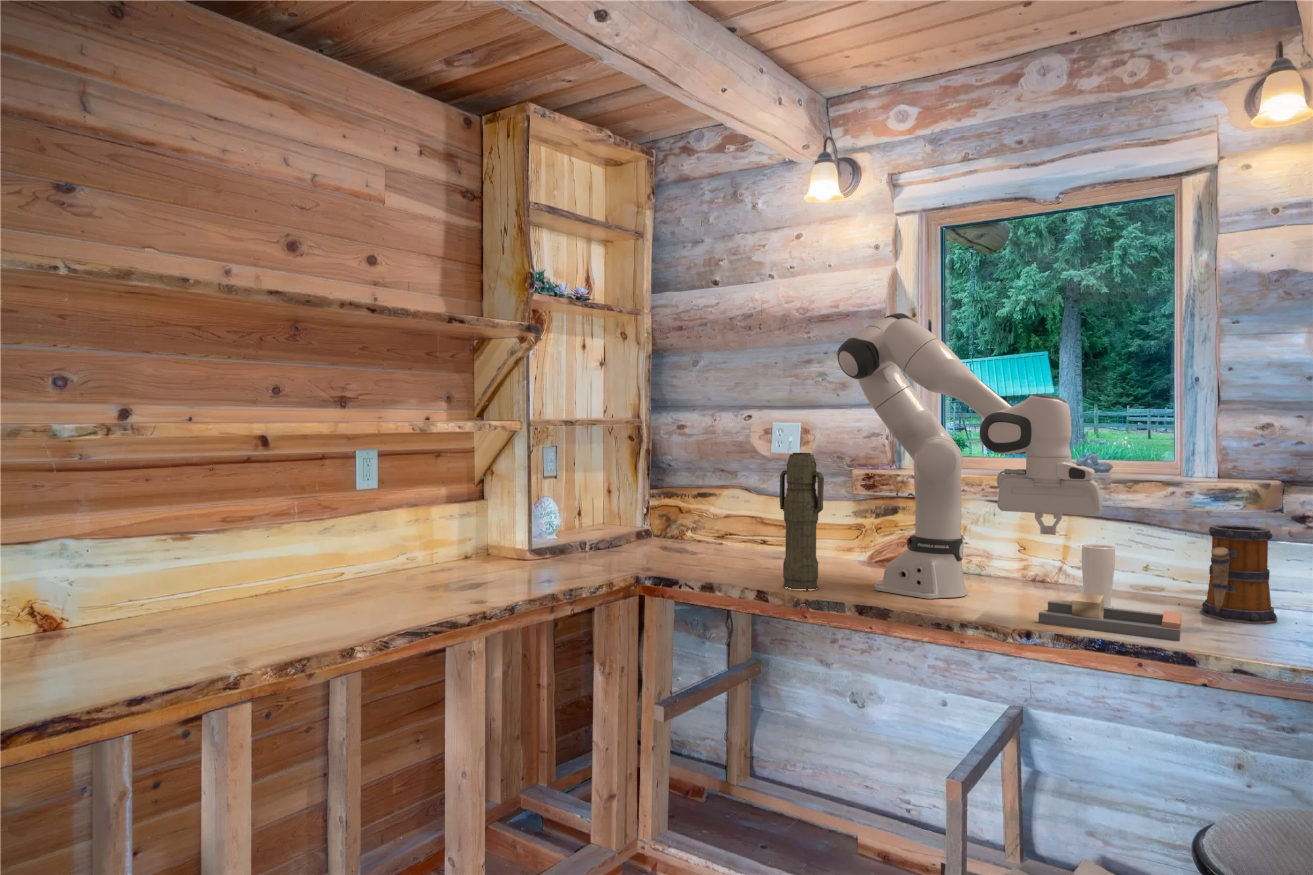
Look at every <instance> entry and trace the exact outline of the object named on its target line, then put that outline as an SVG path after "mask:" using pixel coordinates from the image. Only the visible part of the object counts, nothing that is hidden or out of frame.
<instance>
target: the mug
mask: <svg viewBox="0 0 1313 875" xmlns="http://www.w3.org/2000/svg"><path fill="white" fill-rule="evenodd" d="M1208 532H1209V535H1210V536H1211V550H1210V551H1211V552H1210V553H1211V557H1210V563H1211V564H1209V567H1208V568H1209V572H1208V573H1209V582H1208V588H1207V595H1206V596H1207V597H1206V599H1205V600H1204V601H1203V602H1202V604H1201V607H1202V608H1201V609H1200V611H1199V614H1201V615H1203V616H1205V617H1207V618H1211V619H1215V620H1218V621H1222V622H1228V623H1229V622H1230V623H1235V624H1237V623H1238V624H1245V625H1263V626H1264V625H1271V624H1273V625H1274V624H1277V623H1278V617H1277V614H1276V613H1275V608H1274V607H1272V602H1271V592H1270V582H1269V581H1270V569H1269V568H1268V563H1269V562H1268V554H1269V553H1268V551H1269V550H1268V549H1269V541H1270V540H1272V538H1273V534H1272V533H1271V529H1270V528H1267V527H1262V526H1255V525H1241V524H1211V526H1209V529H1208Z"/></svg>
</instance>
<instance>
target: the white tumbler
mask: <svg viewBox="0 0 1313 875" xmlns="http://www.w3.org/2000/svg"><path fill="white" fill-rule="evenodd" d="M1115 549H1116V547H1115V546H1113V545H1108V544H1099V543H1098V544H1097V543H1085V544H1082V546H1081V572H1082V587H1083V593H1085V594H1094V595H1104V607H1106V608H1112V607H1111V606H1112V595H1113V585H1114V579H1115V578H1114V577H1115V576H1114V575H1115V568H1116V566H1115V565H1116V550H1115Z"/></svg>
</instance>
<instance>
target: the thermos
mask: <svg viewBox="0 0 1313 875" xmlns="http://www.w3.org/2000/svg"><path fill="white" fill-rule="evenodd" d="M787 459H788V460H787V461H786V462H787V463H786V469H785V470H782V471H781V473H780V475H779V508H780V510H782V512H783V521H784V523H785V557H784V560H783V562H782V564H783V565H782V566H783V568H782V570H783V572H782V577H783V587H784V586H785V587H788V588H791V589H806V590H808V589H816V588H817V589H818V579H819V562H818V559H817V524H818V521H819V514H820V513H821V512H822V511H823V510H824V485H825V484H824V483H825V482H824V481H825V478H824V475H823V474H822V472H820V471H817V463H816V459H815V455H814V454H812V453H811V452H792V453H791V454H789V456H788V458H787ZM785 476H786V477H785ZM786 483H787V484H786ZM816 484H817V488H816ZM786 485H787V487H786ZM817 589H816V590H817Z"/></svg>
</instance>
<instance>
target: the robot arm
mask: <svg viewBox="0 0 1313 875" xmlns="http://www.w3.org/2000/svg"><path fill="white" fill-rule="evenodd" d="M836 355H837V356H836V357H837V362H838V365H839V367H840V369H841V371H842V372H843V373H844V374H846V375H847V376H848V377H850V378H851V379H854V380H857V381H858V383H859V386H860V388H861V390H862V392H863V394H864V396H865V398H866V400H867V401H868V402H869V404H870V405H871V407H872V409H873V410H874V411H875V412H876V414H877V416H878V417H879V419H881V421H882V422H883V424H884V426H886V428H887V430H889V432H890V433H891V435H892V436H893V437H894V439H895V440H896V441H897V442H898V443H899V444H900V445H901V447H902V448H903V449H904V450H905V451H906V453H907V454H908V455H909V456H910V458H911V459H912V460H913V477H914V478H913V479H914V480H913V481H914V482H913V483H914V501H915V505H914V506H915V510H914V513H915V515H914V516H915V517H914V518H915V520H914V524H915V525H914V528H915V529H914V530H915V531H914V534H911V535H910V536H909V537H908V538H907V539H905V545H906V547H907V549H906V550H905V551H903V552H902V553H901V554H899V555H898V556H896V557H894V558H893V559H892V560H890V561H889V562H887V564H886V566H885V567H884V568H885V569H884V572H883V579H881V580H879V581H878V580H877V581H876V582H875V583H874V584H873V585H874V586H873V589H874V590H875V591H880V592H883V593H884V592H885V593H890V594H897V595H903V596H908V597H914V598H915V597H916V598H922V599H927V600H928V599H929V600H932V599H941V598H943V599H945V598H947V599H949V598H950V599H951V598H960V597H961V598H962V597H966V596H967V595H968V591H967V588H966V583H965V580H964V579H965V578H964V572H963V563H962V562H963V557H964V541H963V537H962V466H963V460H964V458H963V452H962V451H961V448H960V447H959V446H958V444H957V443H956V442H955V440H954V439H953V438H952V436H951V435H950V434H949V433H948V431H947V430H946V429H945V427H943V424H941V422H940V421H939V420H938V418H937V417H936V416H935V415H934V414H933V413H932V411H931V410H930V408H929V407H928V405H927V404H926V403H925V402H924V401H923V399H922V398H921V397H920V395H919V394H918V392H917V391H916V389H915V388H914V387H913V386H912V384H911V383H910V382H909V380H908V379H907V378H906V377H905V376H904V374H905V375H906V376H907V377H908V378H909V379H910V380H911V381H913V382H914V383H916V384H917V385H918V386H920V387H922V388H923V389H925V390H927V391H930V392H931V393H937V394H939V395H945V396H948V397H951V398H953V399H956V400H958V401H960V402H961V403H963V404H965V405H967V406H968V407H969V408H970V409H971V410H973V411H974V412H975V413H976V414H977V415H979V417H980V418H982V419H983V420H982V422H981V424H980V426H979V437H980V440H981V443H982V444H983V446H984V447H985V448H986V449H988V450H989V451H991V452H993V453H996V454H1001V455H1009V454H1010V455H1012V454H1016V455H1025V469H1020V468H1019V469H1017V468H1016V469H1011V468H1007V469H1006V468H1005V469H1003V470H1002V471H1000V472H999V473H998V474H997V476H996V484H997V487H998V488H999V489H998V493H997V494H998V495H997V508H998V509H999V510H1000V511H1001V512H1015V513H1034V519H1035V520H1036V522H1037V524H1038V525H1039V527H1040V529H1039V533H1040V535H1051V536H1052V535H1053V536H1056V535H1057V527H1058V525H1059V524H1060V522H1061V520H1062V519H1063V515H1073V516H1092V517H1094V516H1095V517H1096V516H1098V515H1100V514H1101V512H1102V511H1103V510H1102V507H1103V506H1102V504H1103V502H1102V494H1101V491H1100V487H1099V484H1098V483H1097V482H1096V481H1095V480H1093V479H1095V476H1096V471H1095V470H1094V468H1092V467H1088V466H1084V465H1082V464H1079V463H1074V462H1073V461H1072V453H1071V449H1070V443H1071V442H1070V441H1071V439H1072V419H1071V417H1072V416H1071V409H1070V406H1069V403H1068V402H1067V400H1065V399H1063V397H1059V396H1056V395H1055V396H1054V395H1053V396H1052V395H1047V394H1046V395H1045V394H1041V393H1040V394H1039V393H1037V394H1035V393H1034V394H1031V395H1029V397H1027V398H1026V399H1025V400H1023V401H1021V402H1019V403H1017V404H1015V405H1014V406H1013V405H1012V404H1011V403H1010V402H1007V401H1006V400H1005V399H1004V398H1003V397H1002V396H1001V395H999V394H998V393H997V392H996V391H995V390H993V389H992V388H990V387H989V386H988V385H987V384H986V383H984V382H983V381H982V380H981V379H979V377H977V376H976V375H975V374H974V373H973V372H972V371H971V369H970V368H969V367H968V366H967V365H966V364H964V362H963V361H962V360H961V359H960V358H959V356H957V355H956V354H955V352H953V350H951V349H950V348H949V347H948V345H947V344H945V343H944V341H942V340H941V339H940V338H939V337H937V335H935V334H934V333H933V332H932V331H930V330H928V328H926V327H924V326H923V325H921V324H919V323H918V322H916V321H914V320H913V319H912V318H911V317H910V316H909V315H908V314H905V313H901V312H897V313H891V314H889V315H887V316H885V317H884V318H882V319H880V320H877V321H875V322H872V323H871V324H869V325H867V326H865V328H863V329H862V330H860V331H859V332H858V333H856V334H854V335H853V336H852V337H850V338H849V337H848V338H847V339H846V340H845V341H844V342H843V343H842V344H840V346H839V347H838V350H837V354H836ZM902 372H903V373H904V374H903V373H902ZM1044 514H1053V519H1054V520H1055V521H1054V522H1053V524H1052V525H1046V524H1045V523H1044V522H1043V519H1042V518H1044Z"/></svg>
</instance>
